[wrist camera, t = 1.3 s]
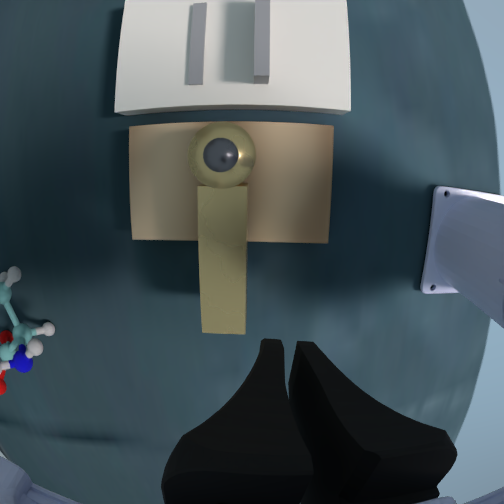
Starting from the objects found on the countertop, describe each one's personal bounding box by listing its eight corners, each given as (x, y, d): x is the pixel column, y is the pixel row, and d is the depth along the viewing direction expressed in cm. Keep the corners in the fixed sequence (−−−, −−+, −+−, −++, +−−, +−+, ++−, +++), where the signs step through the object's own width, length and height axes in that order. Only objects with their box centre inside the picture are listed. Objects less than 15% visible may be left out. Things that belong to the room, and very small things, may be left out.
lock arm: (199, 128, 17) (186, 121, 14) (256, 128, 17) (256, 120, 14) (202, 310, 20) (192, 339, 17) (253, 311, 20) (252, 342, 17)
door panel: (338, 3, 16) (353, -23, 12) (342, 115, 19) (361, 105, 15) (135, 7, 16) (114, -17, 13) (126, 115, 19) (99, 108, 15)
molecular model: (-51, 259, 18) (-80, 342, 11) (35, 239, 22) (27, 322, 15) (-7, 348, 25) (-9, 428, 17) (67, 333, 29) (79, 414, 22)
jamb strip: (326, 128, 19) (333, 125, 17) (322, 235, 21) (327, 243, 19) (139, 128, 19) (129, 126, 17) (142, 232, 21) (132, 239, 19)
